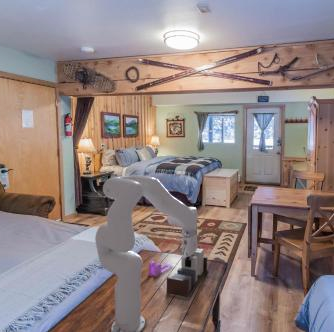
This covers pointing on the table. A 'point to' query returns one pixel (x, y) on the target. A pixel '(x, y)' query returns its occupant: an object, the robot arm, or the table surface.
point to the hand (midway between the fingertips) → (189, 265)
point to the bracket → (157, 268)
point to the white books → (199, 260)
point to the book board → (183, 283)
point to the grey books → (186, 276)
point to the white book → (193, 264)
